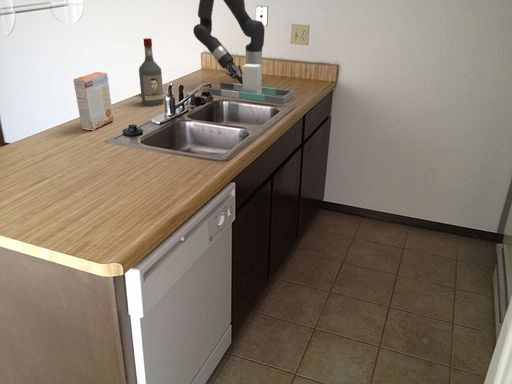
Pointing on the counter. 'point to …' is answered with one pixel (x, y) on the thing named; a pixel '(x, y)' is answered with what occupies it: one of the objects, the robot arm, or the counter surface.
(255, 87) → the skincare box
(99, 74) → the cracker box
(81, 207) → the counter surface
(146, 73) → the liquor
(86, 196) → the counter surface
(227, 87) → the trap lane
